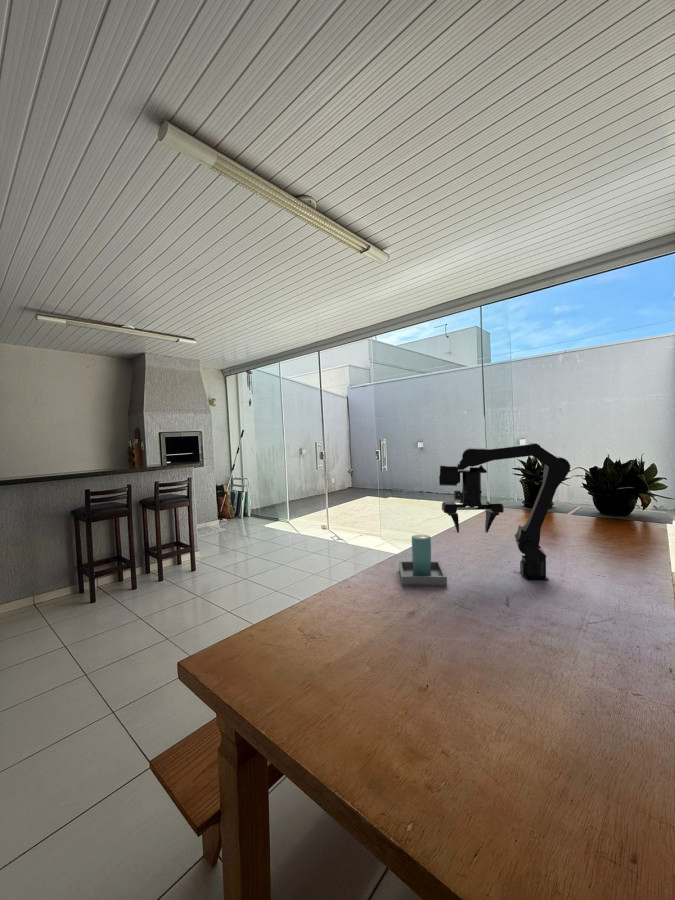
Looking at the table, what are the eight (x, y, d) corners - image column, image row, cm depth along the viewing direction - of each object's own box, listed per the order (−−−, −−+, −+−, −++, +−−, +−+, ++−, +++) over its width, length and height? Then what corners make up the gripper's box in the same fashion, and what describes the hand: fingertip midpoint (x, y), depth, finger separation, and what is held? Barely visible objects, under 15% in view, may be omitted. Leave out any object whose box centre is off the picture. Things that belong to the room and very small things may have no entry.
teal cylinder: (434, 573, 126) (433, 535, 125) (427, 580, 121) (426, 540, 120) (416, 570, 129) (416, 533, 129) (409, 576, 124) (408, 538, 124)
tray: (439, 569, 131) (439, 561, 131) (447, 586, 118) (446, 576, 118) (399, 569, 133) (399, 561, 133) (401, 586, 119) (401, 576, 119)
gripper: (493, 482, 135) (493, 526, 136) (438, 482, 137) (439, 526, 138) (504, 487, 124) (504, 535, 125) (444, 488, 126) (445, 535, 127)
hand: (472, 532), depth 129 cm, fingers open, 9 cm apart
